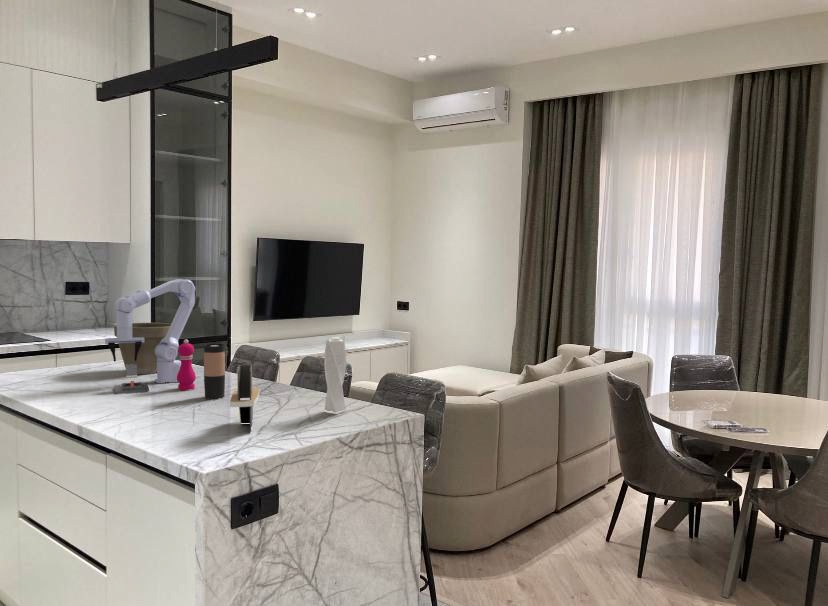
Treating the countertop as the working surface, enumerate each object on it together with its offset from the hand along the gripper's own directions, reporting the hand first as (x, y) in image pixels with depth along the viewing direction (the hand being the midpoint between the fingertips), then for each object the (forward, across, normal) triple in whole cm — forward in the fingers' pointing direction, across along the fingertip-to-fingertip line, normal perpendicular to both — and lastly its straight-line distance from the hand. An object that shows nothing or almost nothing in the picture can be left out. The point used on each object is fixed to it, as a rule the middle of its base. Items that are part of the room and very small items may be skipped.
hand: (125, 360), depth 271 cm
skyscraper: (+11, -65, +73) cm, 98 cm away
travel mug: (+11, -30, +34) cm, 47 cm away
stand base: (+10, -2, +9) cm, 14 cm away
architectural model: (+11, -32, +81) cm, 88 cm away
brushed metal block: (+5, -2, +9) cm, 11 cm away
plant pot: (+11, -9, -32) cm, 35 cm away
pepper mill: (+11, -22, +14) cm, 28 cm away
